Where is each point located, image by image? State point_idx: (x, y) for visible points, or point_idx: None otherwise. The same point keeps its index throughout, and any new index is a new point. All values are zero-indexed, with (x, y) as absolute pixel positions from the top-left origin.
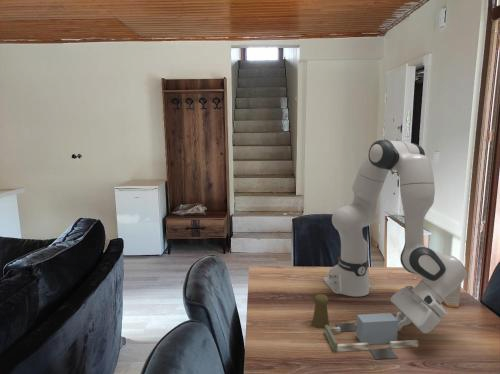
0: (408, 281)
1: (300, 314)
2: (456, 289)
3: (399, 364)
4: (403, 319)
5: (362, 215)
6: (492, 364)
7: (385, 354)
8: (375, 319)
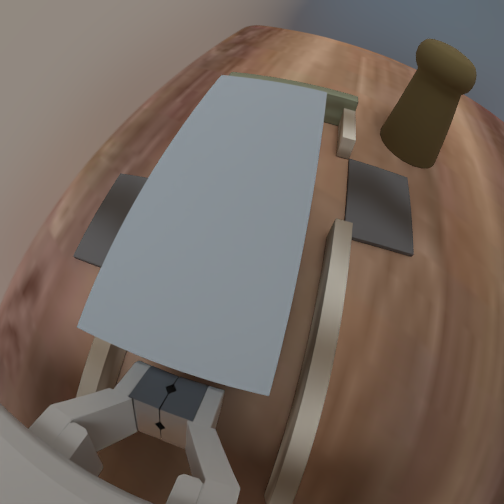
0: None
1: (455, 137)
2: None
3: (55, 238)
4: (78, 415)
5: None
6: None
7: (113, 221)
8: (212, 137)
